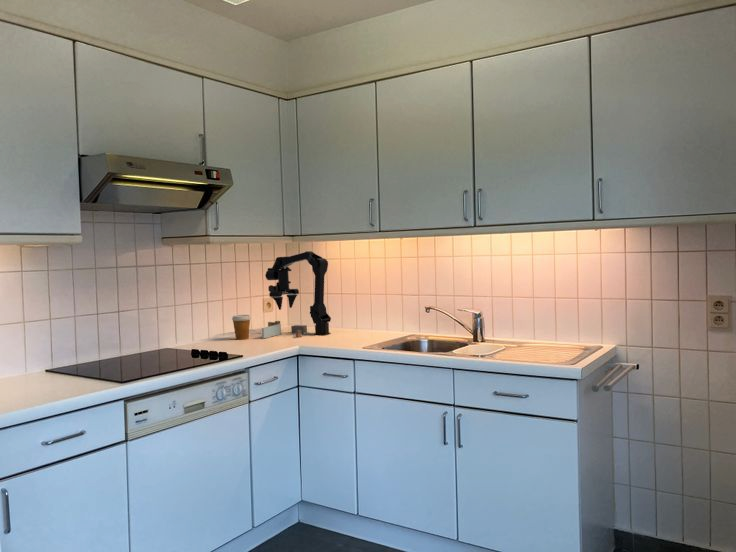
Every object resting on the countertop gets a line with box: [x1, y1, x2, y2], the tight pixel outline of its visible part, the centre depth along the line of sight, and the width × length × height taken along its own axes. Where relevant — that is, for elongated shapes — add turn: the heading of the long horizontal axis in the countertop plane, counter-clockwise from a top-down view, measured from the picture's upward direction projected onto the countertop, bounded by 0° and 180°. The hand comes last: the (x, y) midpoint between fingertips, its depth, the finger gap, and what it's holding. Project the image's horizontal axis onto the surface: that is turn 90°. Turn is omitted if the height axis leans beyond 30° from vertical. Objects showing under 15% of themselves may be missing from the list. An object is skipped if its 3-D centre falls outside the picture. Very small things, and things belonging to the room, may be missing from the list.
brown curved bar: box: [267, 320, 303, 338], centre depth 335 cm, size 27×2×7 cm, turn 43°
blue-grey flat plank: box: [261, 323, 282, 339], centre depth 331 cm, size 16×1×6 cm, turn 153°
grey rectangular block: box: [290, 324, 308, 334], centre depth 341 cm, size 7×4×4 cm, turn 60°
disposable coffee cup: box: [231, 314, 251, 341], centre depth 326 cm, size 10×10×12 cm
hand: (285, 308), depth 344 cm, fingers open, 9 cm apart
